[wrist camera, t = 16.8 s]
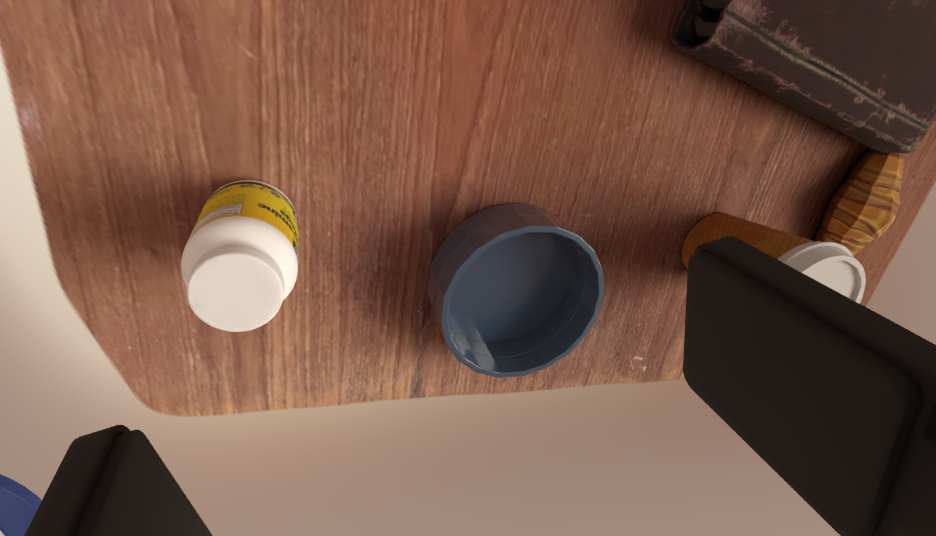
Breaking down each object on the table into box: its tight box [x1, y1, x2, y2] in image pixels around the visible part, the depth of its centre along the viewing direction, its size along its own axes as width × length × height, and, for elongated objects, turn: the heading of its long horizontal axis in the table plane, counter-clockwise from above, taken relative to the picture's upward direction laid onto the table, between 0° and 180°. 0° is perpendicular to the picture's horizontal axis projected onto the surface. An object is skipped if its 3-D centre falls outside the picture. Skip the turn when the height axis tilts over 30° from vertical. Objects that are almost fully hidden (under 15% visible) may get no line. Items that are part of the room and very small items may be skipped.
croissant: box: [814, 149, 904, 255], centre depth 50 cm, size 14×7×5 cm, turn 164°
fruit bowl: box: [428, 203, 604, 378], centre depth 43 cm, size 13×13×5 cm
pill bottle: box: [181, 180, 298, 332], centre depth 32 cm, size 6×6×11 cm
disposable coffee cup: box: [682, 213, 866, 303], centre depth 45 cm, size 10×10×12 cm
